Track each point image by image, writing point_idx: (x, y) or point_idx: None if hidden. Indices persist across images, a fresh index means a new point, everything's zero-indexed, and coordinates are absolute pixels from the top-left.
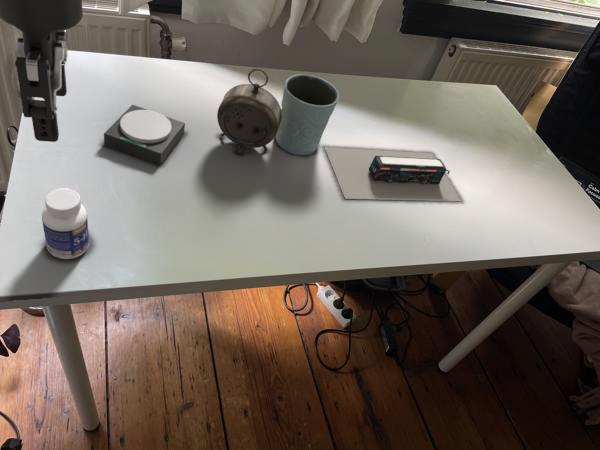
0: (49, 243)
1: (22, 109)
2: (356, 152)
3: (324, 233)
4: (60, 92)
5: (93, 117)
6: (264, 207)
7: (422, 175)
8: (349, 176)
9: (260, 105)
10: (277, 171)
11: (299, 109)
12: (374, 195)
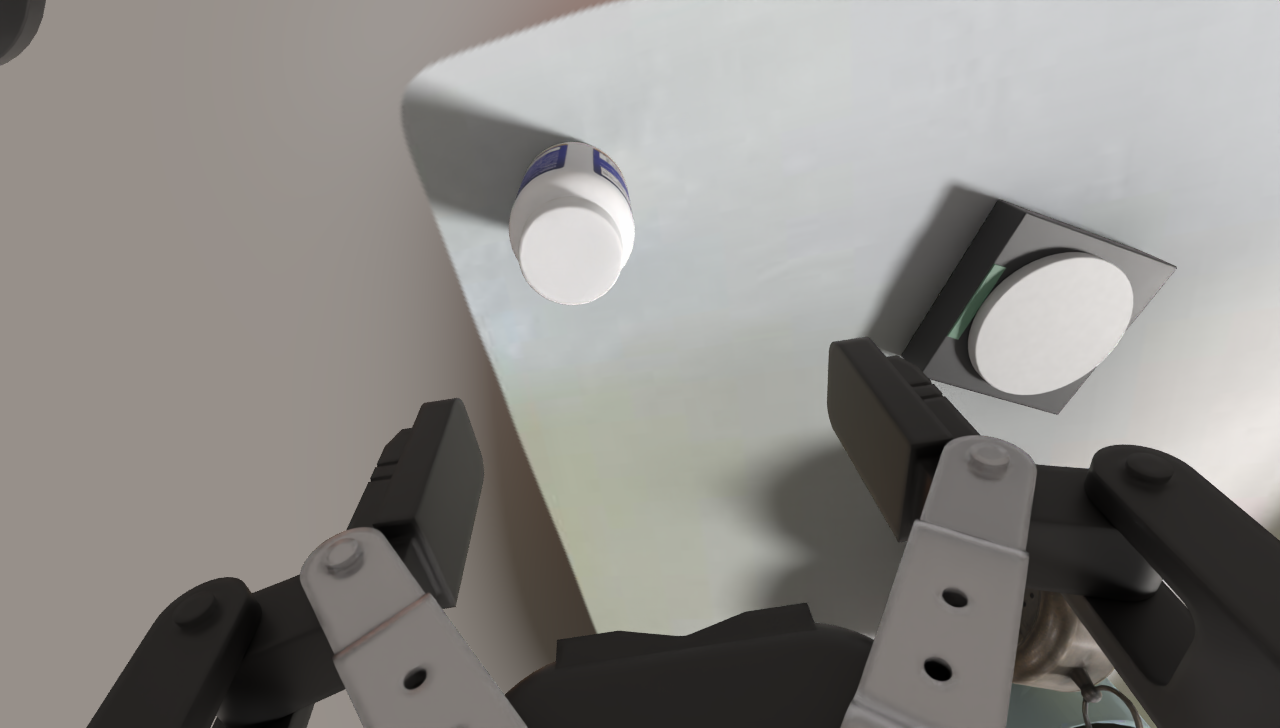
0: (526, 174)
1: (177, 620)
2: None
3: None
4: (834, 408)
5: (1151, 136)
6: (756, 561)
7: None
8: None
9: (1020, 671)
10: (874, 578)
11: (1009, 721)
12: None
